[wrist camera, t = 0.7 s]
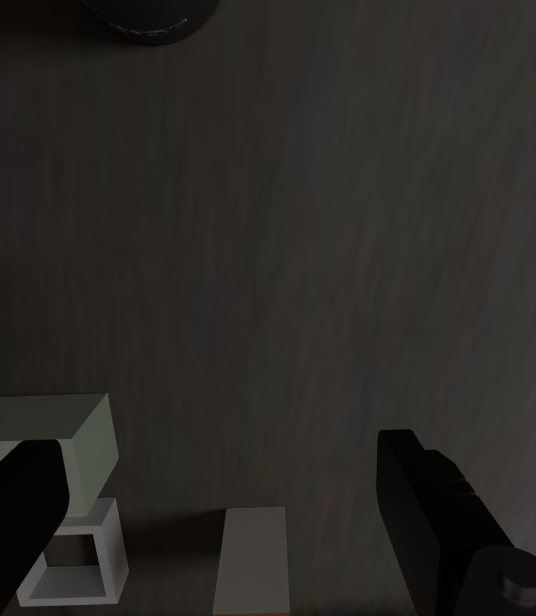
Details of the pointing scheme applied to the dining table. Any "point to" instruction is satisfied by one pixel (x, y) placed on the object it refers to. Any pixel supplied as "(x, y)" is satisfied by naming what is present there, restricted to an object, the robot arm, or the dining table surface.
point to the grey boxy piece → (73, 493)
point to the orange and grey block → (253, 564)
